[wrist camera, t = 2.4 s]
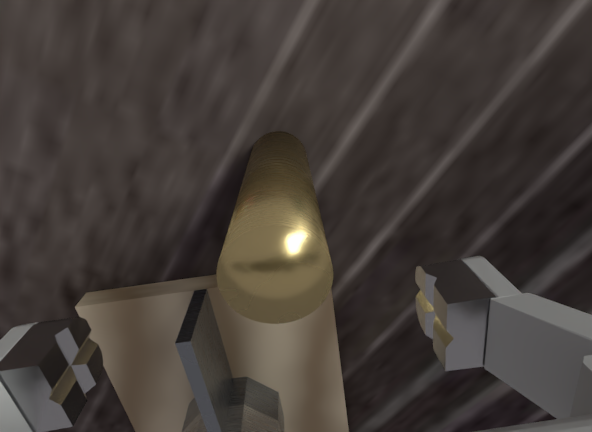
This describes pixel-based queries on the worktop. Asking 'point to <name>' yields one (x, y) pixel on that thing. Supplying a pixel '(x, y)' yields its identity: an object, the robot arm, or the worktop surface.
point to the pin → (275, 237)
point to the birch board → (238, 345)
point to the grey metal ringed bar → (220, 380)
